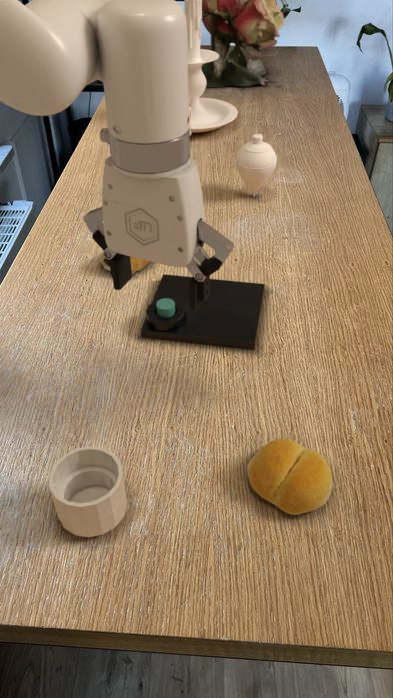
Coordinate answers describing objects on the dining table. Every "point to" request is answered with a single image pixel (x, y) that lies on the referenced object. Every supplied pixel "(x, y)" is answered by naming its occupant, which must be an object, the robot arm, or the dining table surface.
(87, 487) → the beige cup
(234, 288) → the scale
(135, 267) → the pastry
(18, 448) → the dining table surface
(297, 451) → the bread roll
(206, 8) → the rose bouquet
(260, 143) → the spinning top
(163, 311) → the button
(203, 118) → the candlestick
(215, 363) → the dining table surface
